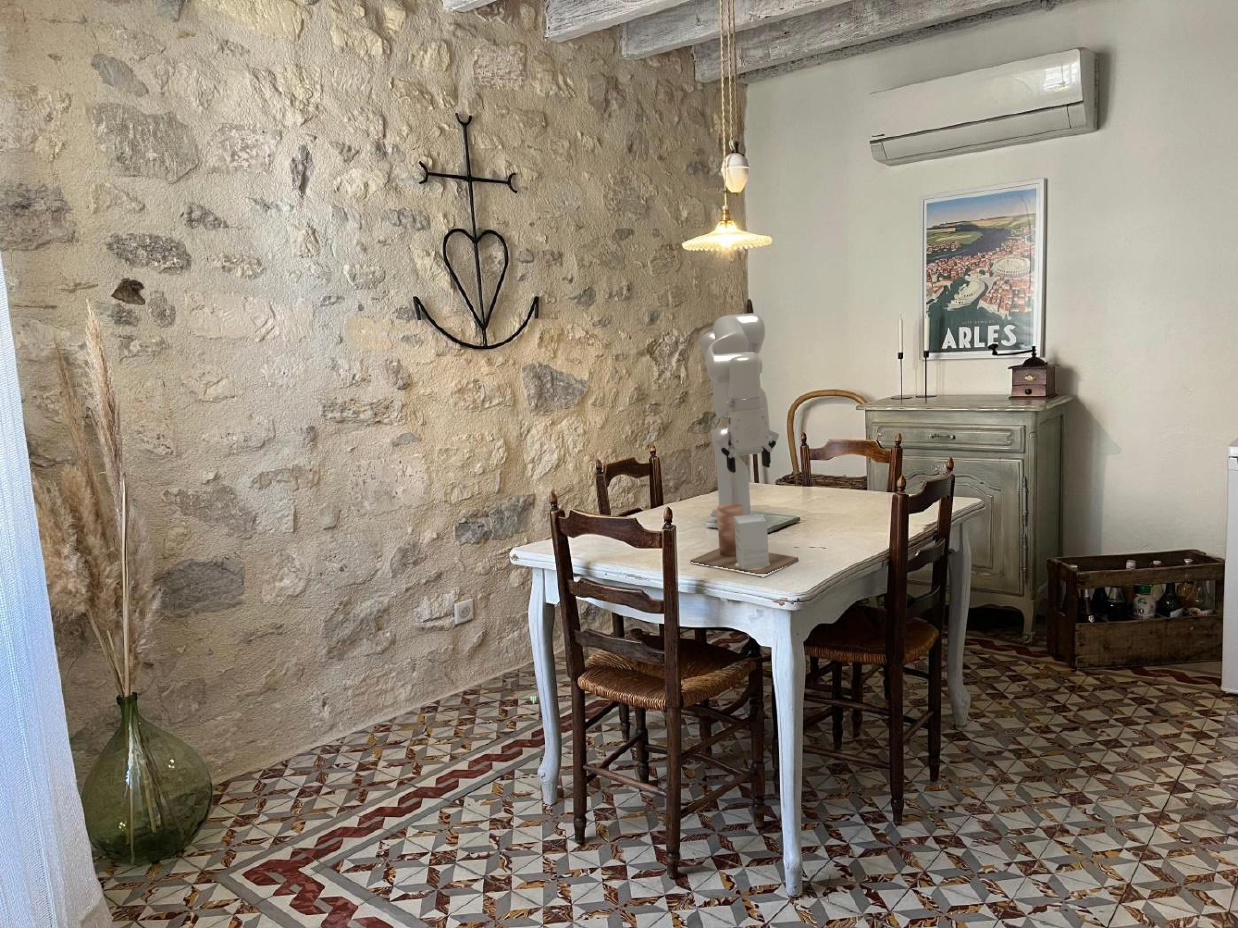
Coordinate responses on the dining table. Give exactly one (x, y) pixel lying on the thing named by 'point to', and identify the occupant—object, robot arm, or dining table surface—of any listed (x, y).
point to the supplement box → (751, 541)
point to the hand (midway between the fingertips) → (749, 469)
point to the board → (732, 561)
